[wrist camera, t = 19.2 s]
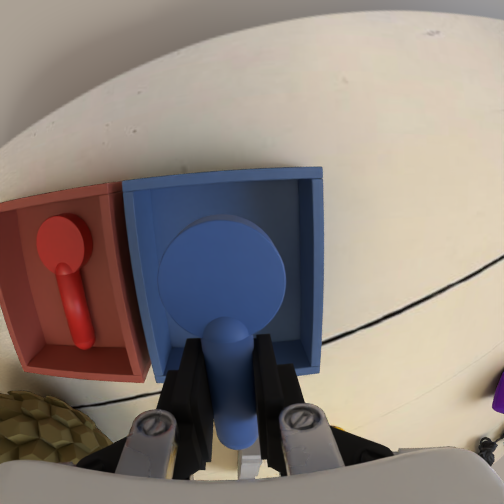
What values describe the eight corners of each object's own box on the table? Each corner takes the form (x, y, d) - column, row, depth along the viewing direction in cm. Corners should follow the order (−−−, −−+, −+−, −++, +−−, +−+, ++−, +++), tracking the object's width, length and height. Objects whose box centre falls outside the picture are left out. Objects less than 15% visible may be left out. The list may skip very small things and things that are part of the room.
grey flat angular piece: (257, 405, 24) (251, 473, 26) (240, 405, 23) (237, 473, 26) (262, 456, 18) (254, 517, 20) (242, 456, 18) (238, 517, 20)
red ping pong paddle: (114, 342, 21) (106, 355, 19) (70, 341, 21) (60, 352, 19) (88, 209, 18) (76, 213, 17) (42, 216, 18) (28, 220, 16)
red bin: (13, 200, 18) (-20, 207, 14) (131, 180, 19) (107, 182, 15) (46, 346, 21) (24, 372, 17) (156, 350, 22) (144, 383, 18)
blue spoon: (282, 426, 13) (287, 453, 11) (195, 430, 13) (192, 458, 11) (278, 210, 11) (286, 217, 9) (159, 218, 10) (145, 227, 9)
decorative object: (155, 384, 22) (93, 627, 3) (152, 487, 26) (129, 633, 7) (-8, 329, 21) (-136, 457, 1) (24, 443, 25) (-36, 556, 5)
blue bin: (142, 178, 19) (121, 180, 15) (305, 167, 19) (322, 166, 15) (166, 350, 22) (156, 383, 18) (306, 342, 22) (319, 373, 18)
